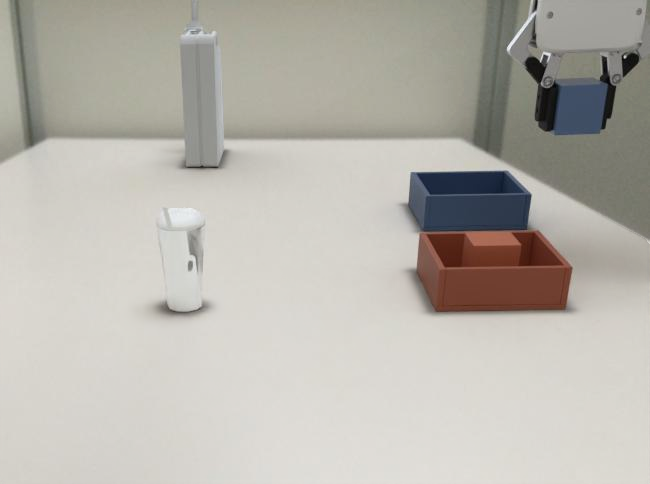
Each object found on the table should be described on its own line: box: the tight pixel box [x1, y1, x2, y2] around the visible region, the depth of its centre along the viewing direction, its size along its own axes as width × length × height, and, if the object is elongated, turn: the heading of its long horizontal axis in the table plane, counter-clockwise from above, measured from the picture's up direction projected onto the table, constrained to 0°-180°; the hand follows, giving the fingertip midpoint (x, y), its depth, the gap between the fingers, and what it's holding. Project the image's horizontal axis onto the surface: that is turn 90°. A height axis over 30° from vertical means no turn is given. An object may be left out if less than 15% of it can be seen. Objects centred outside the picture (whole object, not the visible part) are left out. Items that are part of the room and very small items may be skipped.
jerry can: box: [179, 0, 225, 168], centre depth 143 cm, size 15×5×25 cm, turn 177°
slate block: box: [550, 76, 608, 136], centre depth 96 cm, size 4×4×4 cm
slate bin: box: [407, 169, 533, 232], centre depth 117 cm, size 12×12×4 cm
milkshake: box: [155, 207, 206, 313], centre depth 90 cm, size 4×5×10 cm
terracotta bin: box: [415, 229, 573, 312], centre depth 95 cm, size 12×12×4 cm
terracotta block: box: [461, 231, 521, 267], centre depth 94 cm, size 4×4×4 cm
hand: (571, 126), depth 97 cm, fingers closed on slate block, 4 cm apart
